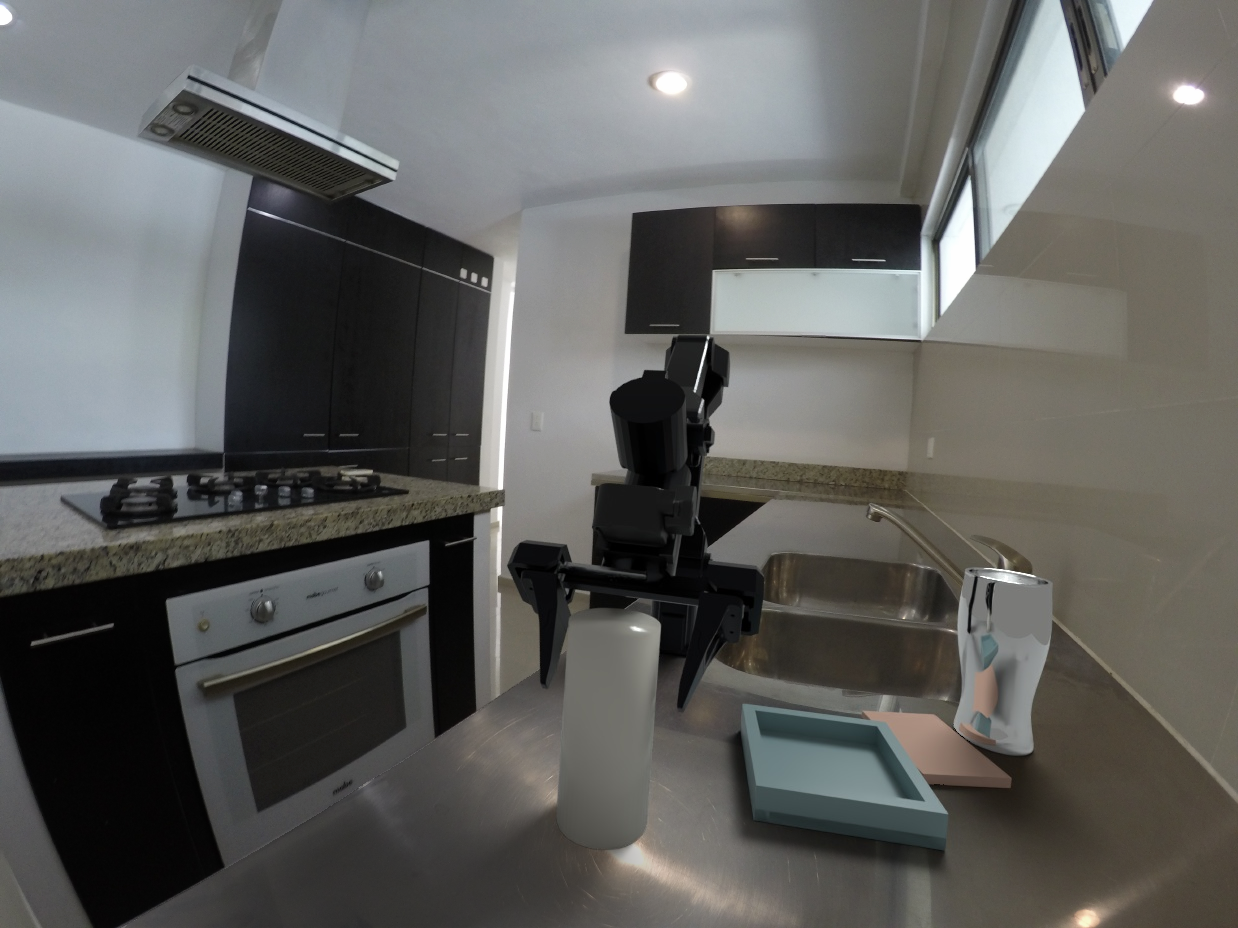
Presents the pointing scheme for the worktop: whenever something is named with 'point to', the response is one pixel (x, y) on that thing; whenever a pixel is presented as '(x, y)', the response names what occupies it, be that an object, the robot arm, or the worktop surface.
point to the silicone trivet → (941, 751)
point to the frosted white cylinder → (607, 726)
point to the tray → (837, 777)
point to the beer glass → (1001, 656)
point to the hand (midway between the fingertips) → (610, 697)
